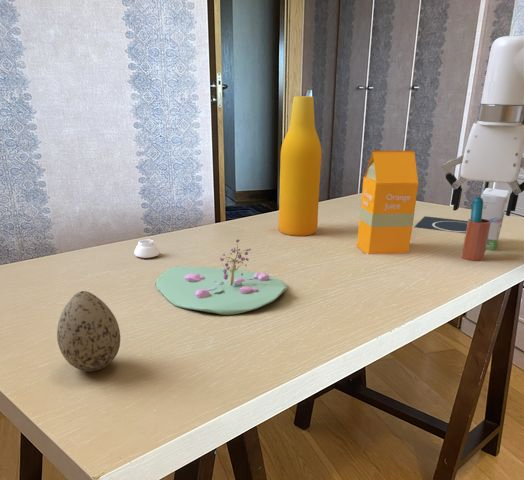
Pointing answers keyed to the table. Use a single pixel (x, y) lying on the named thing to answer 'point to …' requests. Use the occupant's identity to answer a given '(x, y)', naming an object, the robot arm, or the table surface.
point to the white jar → (146, 249)
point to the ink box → (494, 213)
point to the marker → (477, 209)
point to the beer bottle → (300, 172)
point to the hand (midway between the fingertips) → (481, 211)
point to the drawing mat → (443, 224)
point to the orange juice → (388, 202)
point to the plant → (219, 287)
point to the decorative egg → (88, 333)
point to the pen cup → (476, 240)
